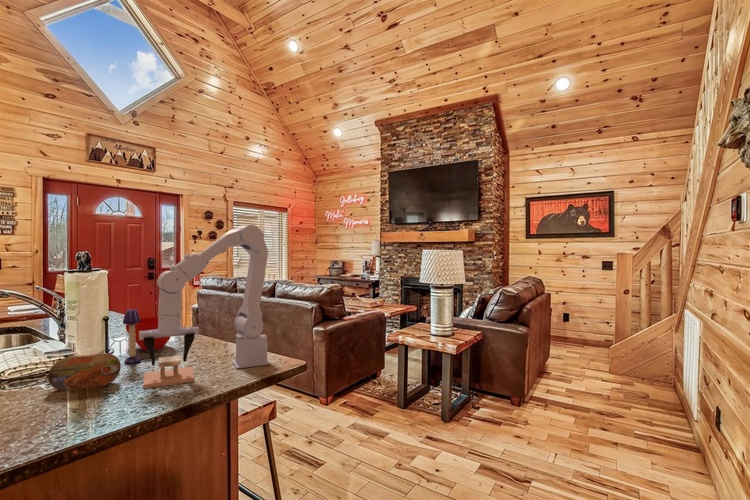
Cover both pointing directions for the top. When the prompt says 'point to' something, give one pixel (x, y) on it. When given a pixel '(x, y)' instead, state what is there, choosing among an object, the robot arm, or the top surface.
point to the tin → (84, 371)
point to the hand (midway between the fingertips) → (169, 362)
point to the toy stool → (168, 362)
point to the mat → (168, 377)
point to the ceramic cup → (146, 325)
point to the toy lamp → (132, 335)
